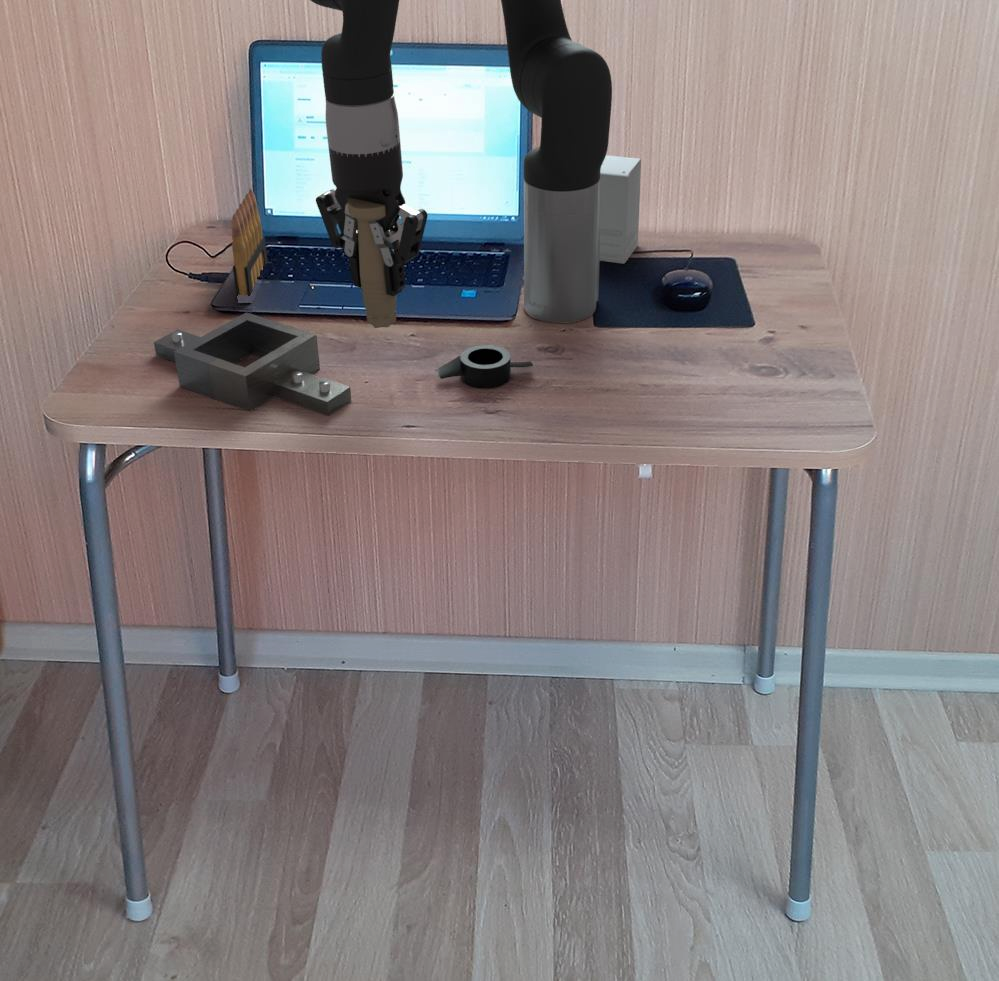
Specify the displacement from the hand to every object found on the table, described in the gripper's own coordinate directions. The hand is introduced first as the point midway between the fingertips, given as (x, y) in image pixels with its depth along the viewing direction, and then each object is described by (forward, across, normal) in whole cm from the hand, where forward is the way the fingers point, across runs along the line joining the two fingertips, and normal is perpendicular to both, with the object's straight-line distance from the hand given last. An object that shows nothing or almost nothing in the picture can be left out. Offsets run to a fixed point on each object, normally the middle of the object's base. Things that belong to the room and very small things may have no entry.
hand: (378, 288), depth 146 cm
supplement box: (+13, -4, -45) cm, 47 cm away
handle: (+5, 0, 0) cm, 5 cm away
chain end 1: (+11, +20, +8) cm, 25 cm away
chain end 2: (+11, +7, +8) cm, 16 cm away
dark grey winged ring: (+12, -10, -6) cm, 17 cm away
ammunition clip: (+12, +30, -11) cm, 34 cm away
